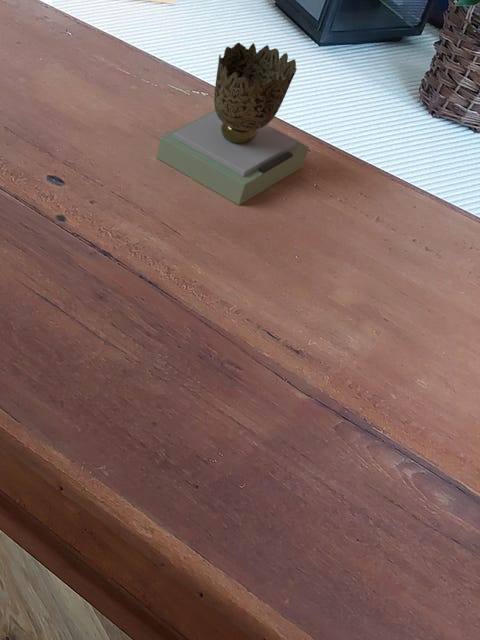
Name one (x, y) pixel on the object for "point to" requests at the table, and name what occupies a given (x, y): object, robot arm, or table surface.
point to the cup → (250, 89)
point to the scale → (231, 157)
